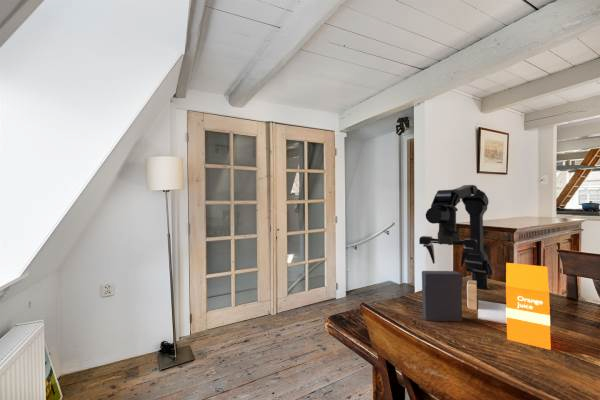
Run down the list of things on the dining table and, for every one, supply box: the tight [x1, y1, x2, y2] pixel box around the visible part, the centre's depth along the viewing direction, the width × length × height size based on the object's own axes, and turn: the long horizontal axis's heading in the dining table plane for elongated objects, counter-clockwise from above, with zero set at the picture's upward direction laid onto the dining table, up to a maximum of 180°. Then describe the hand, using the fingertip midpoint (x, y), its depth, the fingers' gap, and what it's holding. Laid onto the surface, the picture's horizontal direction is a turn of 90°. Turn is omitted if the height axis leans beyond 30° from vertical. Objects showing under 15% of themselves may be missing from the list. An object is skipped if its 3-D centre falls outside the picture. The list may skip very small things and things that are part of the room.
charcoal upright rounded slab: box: [421, 270, 463, 322], centre depth 88 cm, size 11×4×15 cm, turn 84°
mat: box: [477, 299, 507, 325], centre depth 90 cm, size 18×16×1 cm
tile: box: [466, 279, 478, 311], centre depth 98 cm, size 8×3×8 cm, turn 147°
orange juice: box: [505, 262, 552, 351], centre depth 74 cm, size 8×9×20 cm
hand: (447, 265), depth 102 cm, fingers open, 9 cm apart
